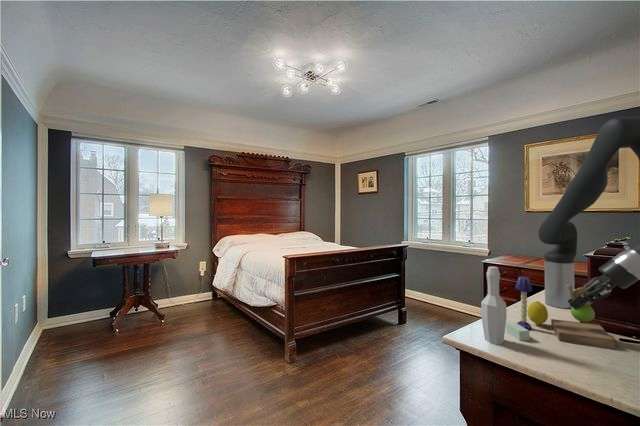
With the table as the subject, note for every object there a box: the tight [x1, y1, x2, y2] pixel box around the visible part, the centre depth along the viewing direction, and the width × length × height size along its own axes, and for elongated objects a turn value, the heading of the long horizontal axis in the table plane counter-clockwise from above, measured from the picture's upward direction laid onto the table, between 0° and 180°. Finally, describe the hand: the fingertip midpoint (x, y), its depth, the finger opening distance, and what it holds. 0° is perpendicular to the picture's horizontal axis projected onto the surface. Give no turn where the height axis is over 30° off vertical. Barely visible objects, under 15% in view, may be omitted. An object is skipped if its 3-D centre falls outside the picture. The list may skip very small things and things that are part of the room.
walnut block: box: [550, 318, 615, 350], centre depth 91 cm, size 12×12×3 cm
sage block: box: [505, 322, 530, 341], centre depth 93 cm, size 6×3×3 cm, turn 2°
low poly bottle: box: [480, 266, 508, 345], centre depth 90 cm, size 6×6×22 cm
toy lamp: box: [514, 275, 533, 331], centre depth 98 cm, size 5×5×17 cm
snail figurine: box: [566, 280, 596, 323], centre depth 91 cm, size 5×6×12 cm
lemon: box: [527, 300, 549, 326], centre depth 100 cm, size 6×6×8 cm
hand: (571, 305), depth 92 cm, fingers closed on snail figurine
